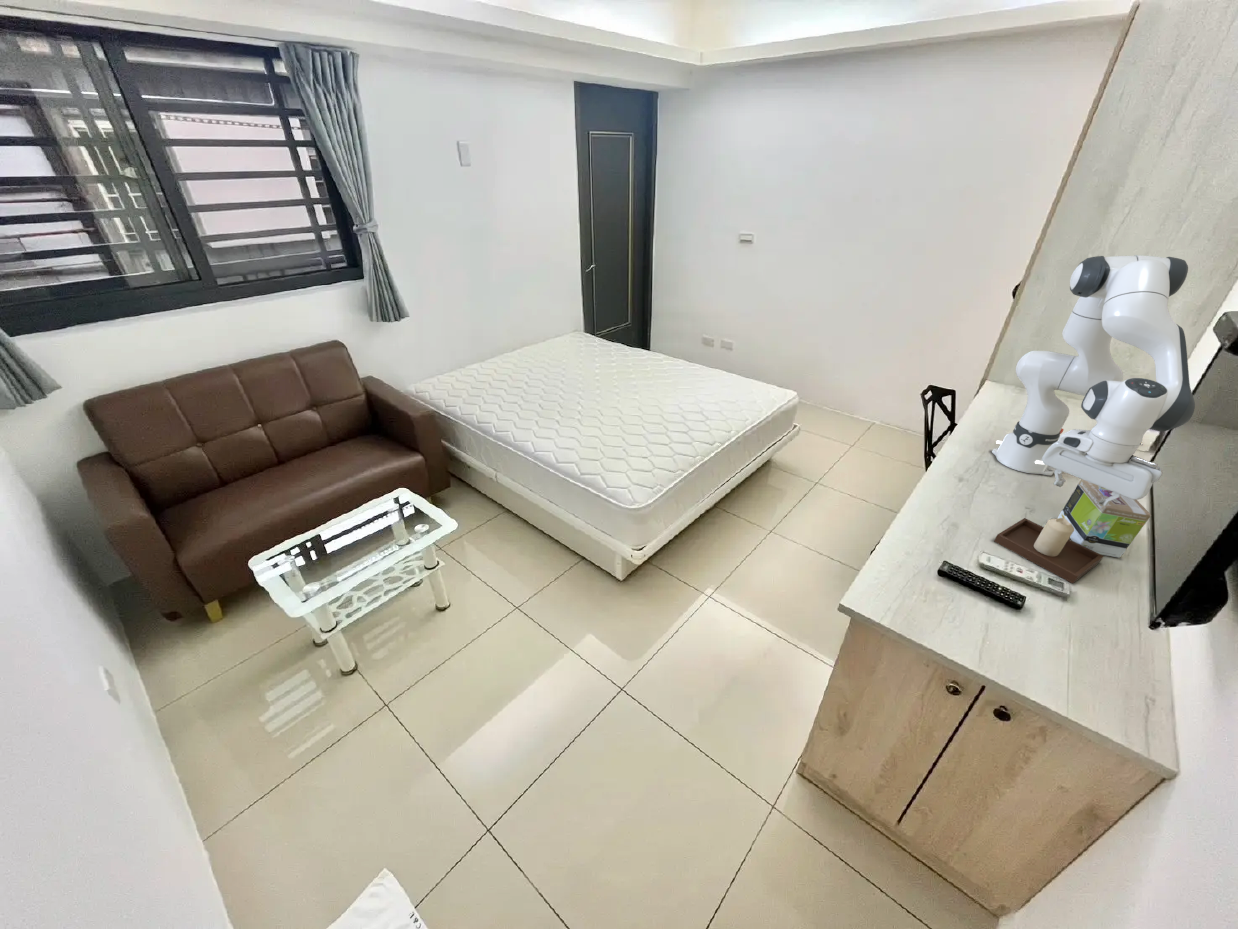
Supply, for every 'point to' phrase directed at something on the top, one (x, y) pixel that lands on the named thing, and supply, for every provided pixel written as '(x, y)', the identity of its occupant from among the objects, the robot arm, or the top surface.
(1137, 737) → the top surface
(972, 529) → the top surface
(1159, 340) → the robot arm
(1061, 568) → the tray
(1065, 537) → the candle
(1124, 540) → the tea box
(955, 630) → the top surface
